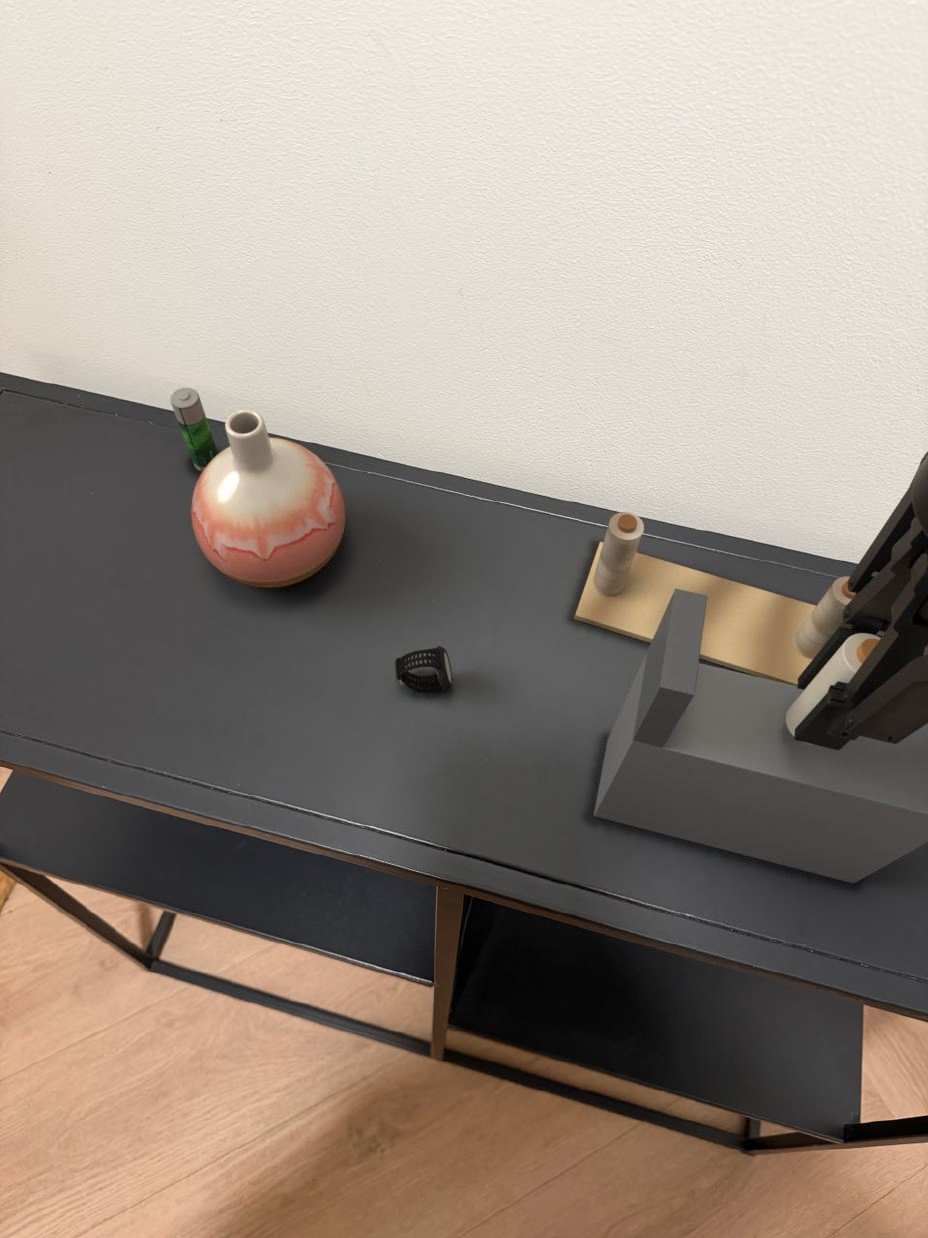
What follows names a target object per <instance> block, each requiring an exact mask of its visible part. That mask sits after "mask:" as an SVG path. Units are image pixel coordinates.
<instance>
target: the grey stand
mask: <svg viewBox="0 0 928 1238" xmlns="http://www.w3.org/2000/svg"><path fill="white" fill-rule="evenodd" d="M706 604H707V595H702V594H698V593H694V592H689V591H685V590H680V589H675V590H674V593H673V595H672V597H671V599H670V602H669V604H668V606H667V608H666V610H665V613H664V615H663V617H662V619H661V622H660V624H659V626H658V628H657V631H656V633H655V635H654V637H653V640H652V642H651V643H649V646H648V649H647V651H646V653H645V655H644V658H643V660H642V662H641V664H640V667H639V668H638V671H637V673H636V676H635V678H634V680H633V683H632V685H631V687H630V689H629V691H628V694H627V696H626V698H625V700H624V703H623V705H622V707H621V709H620V711H619V714H618V716H617V718H616V720H615V723H614V725H613V727H612V729H611V732H610V734H609V736H608V738H607V742H606V745H605V753H604V757H603V763H602V768H601V773H600V779H599V783H598V789H597V794H596V800H595V806H594V812H593V816H594V817H596V818H600V819H604V820H608V821H612V822H615V823H619V824H622V825H627V826H630V827H634V828H638V829H642V830H647V831H650V832H655V833H658V834H662V835H666V836H669V837H672V838H677V839H681V840H684V841H689V842H692V843H696V844H700V845H704V846H708V847H712V848H716V849H719V850H723V851H727V852H731V853H735V854H739V855H743V856H746V857H750V858H754V859H757V860H761V861H766V862H768V863H773V864H777V865H781V866H785V867H788V868H792V869H796V870H800V871H804V872H808V873H812V874H815V875H819V876H823V877H828V878H830V879H835V880H837V881H838V880H839V881H842V882H846V883H849V884H850V883H851V884H856V883H858V882H859V881H861V880H863V879H864V878H866V877H868V876H870V875H872V874H874V873H875V872H877V871H879V870H881V869H882V868H884V867H886V866H888V865H890V864H892V863H893V862H895V861H897V860H898V859H900V858H902V857H903V856H905V855H907V854H909V853H910V852H912V851H914V850H917V849H918V848H920V847H922V846H923V845H925V844H927V843H928V724H926V725H924V726H923V727H921V728H920V729H918V730H917V731H915V732H914V733H912V734H911V735H909V736H908V737H906V738H905V739H903V740H902V741H900V742H899V743H897V744H892V743H888V742H884V741H880V740H875V739H871V738H867V737H863V736H859V737H858V738H857V739H856V740H850V741H849V742H848V743H847V744H846V745H844V746H843V747H842V748H841V749H840V750H839V751H838V750H834V749H830V748H826V747H822V746H818V745H811V744H806V743H804V742H801V741H797V740H794V736H793V735H792V734H791V732H790V731H789V729H788V727H787V724H786V713H787V711H788V709H789V708H790V707H791V705H792V704H793V703H794V702H795V701H796V699H797V698H798V697H799V696H800V695H801V693H802V692H803V691H804V690H802V689H798V688H797V686H794V685H790V684H785V683H781V682H777V681H773V680H768V679H764V678H761V677H757V676H754V675H751V674H748V673H744V672H740V671H734V670H730V669H726V668H722V667H717V666H713V665H708V664H704V663H700V658H699V657H700V650H701V642H702V634H703V627H704V619H705V611H706Z"/></svg>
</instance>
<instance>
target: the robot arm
mask: <svg viewBox="0 0 928 1238" xmlns="http://www.w3.org/2000/svg"><path fill="white" fill-rule="evenodd" d="M875 572H876V575H875V574H874V573H875ZM848 577H849V580H848V584H847V585H848V591H850V592H854V593H856V594H855V597H854V598H853V599H852V600H851V601H850V602H849V603H848V604H847V605H846V606H845V609H844V611H843V623H842V624H841V625H840V626H839V628H838V629H837V630H836V631H835V633H834V634H833V635H832V636H831V638H830V639H829V640H828V641H827V642H826V644H825V645H824V646H823V647H822V649H821V650H820V651H819V652H818V654H817V655H816V656H815V657H814V659H813V660H812V661H811V662H810V664H809V665H808V666H807V667H806V669H805V670H804V671H803V672H802V674H801V675H800V676H799V677H798V685H797V688H798V689H802V690H805V689H806V687H807V686H808V685H809V684H810V683H811V681H812V680H813V679H814V678H815V677H816V675H817V674H818V673H819V672H820V671H821V670H822V668H823V667H824V666H825V665H826V664H827V662H828V661H829V660H830V659H831V658H832V656H833V655H834V654H835V653H836V652H837V650H838V649H839V648H840V647H841V646H842V644H843V643H844V642H845V641H846V640H847V639H848V638H849V637H850V636H852V635H855V634H859V633H868V634H873V635H876V636H878V637H880V638H881V639H880V640H879V642H878V643H877V644H876V646H875V647H874V648H873V650H872V651H871V653H870V654H869V655H868V657H867V658H866V659H865V661H864V662H863V664H862V665H861V666H860V668H859V669H858V671H857V672H856V673H855V675H854V676H853V677H852V679H851V680H850V682H849V683H844V682H840V681H837V683H836V684H835V685H830V687H829V690H828V693H827V694H826V695H825V696H824V697H823V698H822V699H821V700H820V702H819V703H818V704H817V705H816V706H815V707H814V708H813V709H812V710H811V712H810V713H809V714H808V715H807V716H806V717H805V718H804V719H803V721H802V722H801V723H800V724H799V725H798V726H797V727H796V728H795V736H794V740H797V741H801V742H805V743H809V744H814V745H818V746H822V747H826V748H830V749H834V750H838V751H839V750H840V749H841V748H842V747H843V746H844V745H846V744H847V743H848V742H849V741H850V740H856V739H857V738H858V737H859V736H863V737H867V738H871V739H875V740H880V741H884V742H888V743H892V744H897V743H899V742H900V741H902V740H903V739H905V738H906V737H908V736H909V735H911V734H912V733H914V732H915V731H917V730H918V729H920V728H921V727H923V726H924V725H926V724H928V451H926V453H924V455H923V457H922V458H921V459H920V462H919V466H918V468H917V469H916V472H915V474H914V476H913V478H912V480H911V482H910V484H909V486H908V488H907V490H906V492H905V493H904V495H903V497H901V499H900V501H899V502H898V504H897V505H896V506H895V508H894V510H893V511H892V513H891V514H890V515H889V517H888V519H887V520H886V521H885V523H884V524H883V526H882V528H881V529H880V530H879V532H878V534H877V535H876V537H874V539H873V541H872V542H871V544H870V545H869V547H868V548H867V550H866V552H865V553H864V555H863V556H862V558H861V559H860V560H859V562H858V564H857V565H856V567H855V568H854V570H853V571H852V573H851V574H850V576H848ZM879 632H883V635H880V634H878V633H879Z"/></svg>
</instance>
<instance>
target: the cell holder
mask: <svg viewBox="0 0 928 1238" xmlns="http://www.w3.org/2000/svg"><path fill="white" fill-rule="evenodd" d="M644 531H645V524H644V522H643V520H642V519H641V517H639V516H638V515H637V514H634V513H632V512H629V511H621V512H617V513H615V514H614V515H612V516H611V517H610V519H609V523H608V525H607V529H606V532H605V536H604V540H603V541H599V543H598V547H597V549H596V552H595V556H594V559H593V561H592V564H591V566H590V570H589V574H588V576H587V579H586V582H585V584H584V588H583V591H582V594H581V597H580V600H579V603H578V606H577V609H576V611H575V615H574V618H573V619H574V620H576V621H579V622H583V623H585V624H589V625H592V626H595V627H598V628H601V629H605V630H607V631H611V632H614V633H616V634H617V633H618V634H620V635H623V636H627V637H631V638H632V639H636V640H639V641H643V642H646V643H649V644H651V642H652V640H653V637H654V635H655V633H656V631H657V628H658V626H659V624H660V622H661V619H662V617H663V615H664V613H665V610H666V608H667V606H668V604H669V602H670V599H671V597H672V595H673V593H674V590H675V589H680V590H685V591H689V592H694V593H698V594H702V595H707V604H706V611H705V619H704V627H703V634H702V642H701V650H700V657H699V660H704V661H706V662H710V663H713V664H716V665H718V666H719V665H720V666H722V667H726V668H729V669H732V670H736V671H737V672H740V673H744V674H747V675H751V676H756V677H760V678H764V679H768V680H773V681H777V682H781V683H785V684H790V685H794V686H797V685H798V677H799V676H800V675H801V674H802V672H803V671H804V670H805V669H806V667H807V666H808V665H809V664H810V662H811V661H812V660H813V659H814V657H815V656H816V655H817V654H818V652H819V651H820V650H821V649H822V647H823V646H824V645H825V644H826V642H827V641H828V640H829V639H830V638H831V636H832V635H833V634H834V633H835V631H836V630H837V629H838V628H839V626H840V625H841V624H842V623H843V611H844V609H845V606H846V605H847V604H848V603H849V602H850V601H851V600H852V599H853V598H854V597H855V594H856V593H854V592H850V591H848V585H847V584H848V580H849V577H850V576H840V577H838V578H837V579H835V580H834V582H833V583H832V584H831V586H830V587H829V588H828V589H827V591H826V592H825V594H824V595H823V596H822V598H821V599H820V600H819V602H818V603H817V604H816V605H815V604H811V603H808V602H805V601H801V600H798V599H795V598H792V597H788V596H785V595H781V594H778V593H774V592H771V591H768V590H764V589H761V588H758V587H755V586H751V585H747V584H744V583H741V582H737V581H734V580H730V579H728V578H724V577H720V576H719V575H718V576H717V575H714V574H711V573H708V572H704V571H700V570H697V569H693V568H690V567H688V566H685V565H681V564H677V563H674V562H670V561H667V560H665V559H660V558H657V557H654V556H650V555H647V554H643V553H640V552H637V551H638V548H639V545H640V544H641V543H640V542H641V540H642V537H643V535H644Z"/></svg>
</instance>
